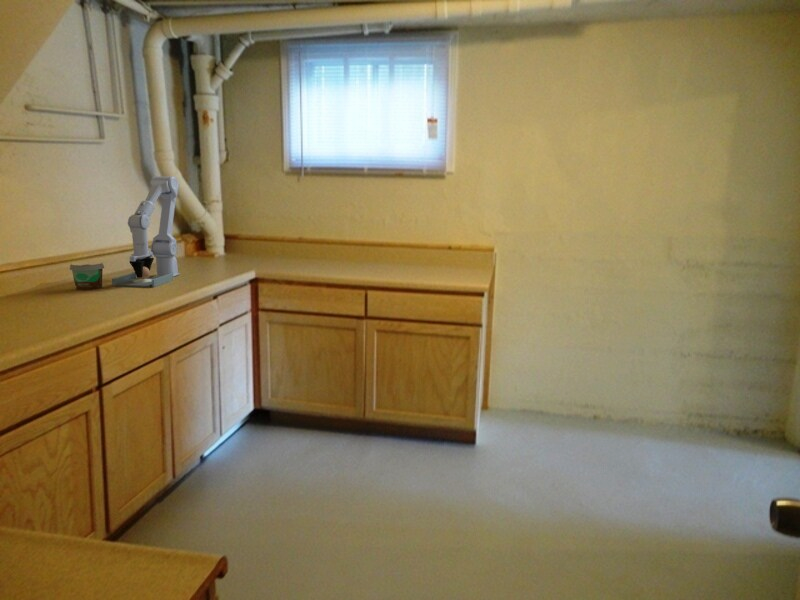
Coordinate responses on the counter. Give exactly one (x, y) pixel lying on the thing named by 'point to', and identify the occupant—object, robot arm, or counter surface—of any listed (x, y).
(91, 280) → the food container
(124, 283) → the mat
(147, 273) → the ball
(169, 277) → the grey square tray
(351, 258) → the counter surface
